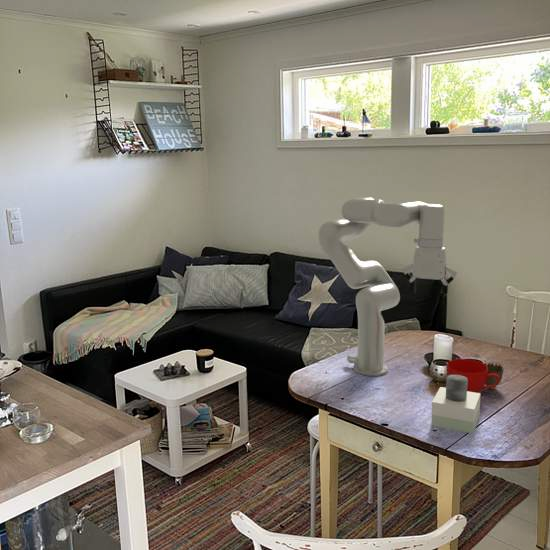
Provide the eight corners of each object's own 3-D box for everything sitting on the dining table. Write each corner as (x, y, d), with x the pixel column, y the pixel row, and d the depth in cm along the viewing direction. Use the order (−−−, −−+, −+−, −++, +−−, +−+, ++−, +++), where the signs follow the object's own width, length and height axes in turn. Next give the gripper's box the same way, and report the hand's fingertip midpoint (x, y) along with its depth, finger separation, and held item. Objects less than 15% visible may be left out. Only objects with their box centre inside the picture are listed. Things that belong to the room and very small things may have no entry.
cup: (503, 394, 199) (505, 371, 197) (480, 392, 200) (481, 370, 198) (500, 385, 206) (501, 363, 204) (477, 383, 207) (479, 361, 205)
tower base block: (431, 427, 178) (431, 414, 177) (439, 410, 188) (439, 398, 188) (473, 435, 173) (474, 422, 172) (479, 417, 183) (480, 405, 182)
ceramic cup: (493, 408, 188) (495, 378, 186) (440, 397, 197) (441, 368, 195) (502, 393, 199) (504, 365, 197) (451, 383, 208) (453, 356, 206)
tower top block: (431, 414, 177) (432, 401, 176) (439, 398, 188) (440, 386, 187) (473, 422, 172) (474, 409, 171) (479, 405, 182) (480, 393, 182)
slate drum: (443, 399, 178) (444, 380, 176) (447, 391, 183) (448, 373, 182) (464, 403, 175) (465, 384, 174) (468, 395, 180) (469, 376, 179)
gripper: (400, 243, 192) (399, 295, 196) (456, 246, 184) (453, 300, 188) (406, 239, 198) (405, 289, 202) (460, 242, 191) (457, 294, 195)
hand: (428, 294), depth 195 cm, fingers open, 9 cm apart
